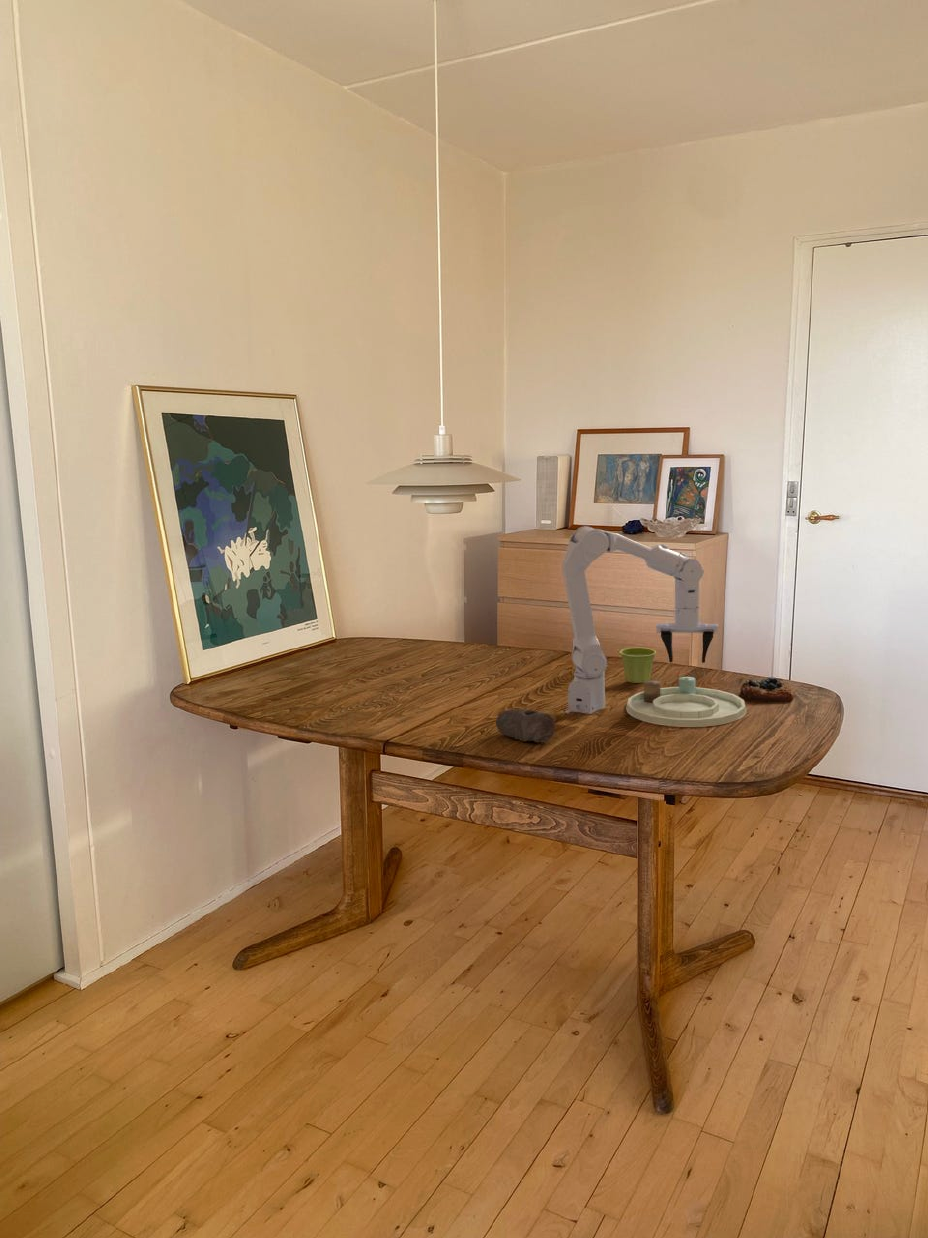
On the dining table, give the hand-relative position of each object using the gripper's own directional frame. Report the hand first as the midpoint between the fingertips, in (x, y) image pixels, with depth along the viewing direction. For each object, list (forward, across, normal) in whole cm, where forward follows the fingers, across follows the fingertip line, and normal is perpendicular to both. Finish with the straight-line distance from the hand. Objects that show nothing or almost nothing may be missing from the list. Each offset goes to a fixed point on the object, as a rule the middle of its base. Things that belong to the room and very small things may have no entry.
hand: (687, 661), depth 228 cm
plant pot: (+10, +13, -15) cm, 22 cm away
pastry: (+10, -19, -2) cm, 21 cm away
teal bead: (+9, 0, 0) cm, 9 cm away
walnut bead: (+9, +8, +4) cm, 13 cm away
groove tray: (+10, 0, +10) cm, 14 cm away
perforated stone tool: (+10, +34, +34) cm, 49 cm away
